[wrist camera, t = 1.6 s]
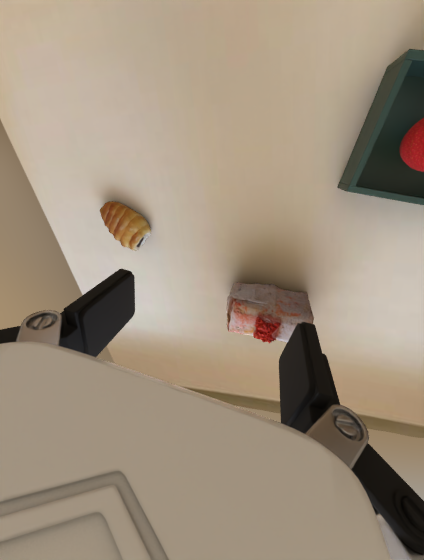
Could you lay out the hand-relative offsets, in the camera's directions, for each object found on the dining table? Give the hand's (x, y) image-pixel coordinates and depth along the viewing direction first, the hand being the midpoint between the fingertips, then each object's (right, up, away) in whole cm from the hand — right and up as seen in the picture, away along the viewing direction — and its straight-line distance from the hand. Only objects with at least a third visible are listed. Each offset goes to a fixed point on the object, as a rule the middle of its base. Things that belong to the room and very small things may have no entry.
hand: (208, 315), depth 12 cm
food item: (+11, -1, +29) cm, 31 cm away
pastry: (-15, +12, +29) cm, 34 cm away
